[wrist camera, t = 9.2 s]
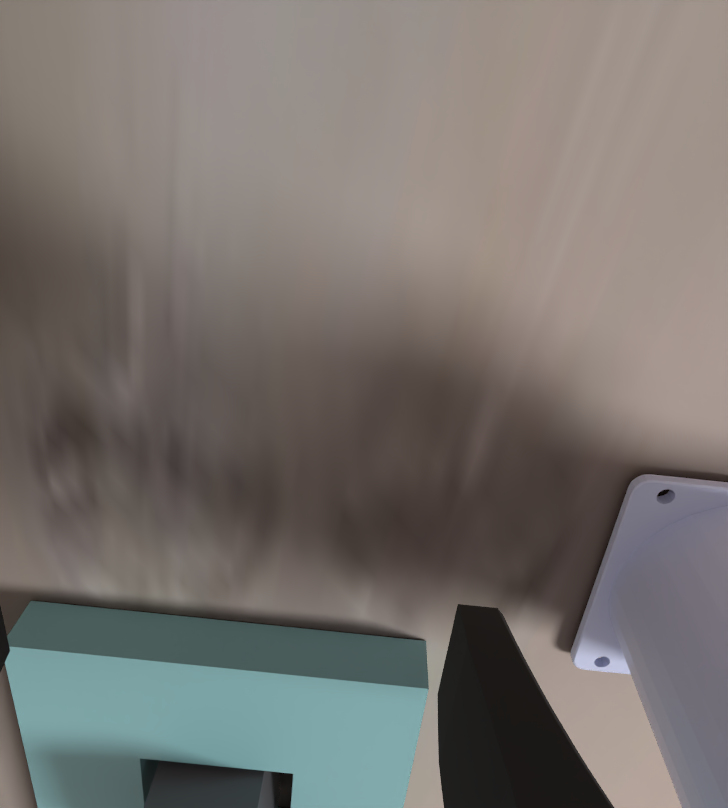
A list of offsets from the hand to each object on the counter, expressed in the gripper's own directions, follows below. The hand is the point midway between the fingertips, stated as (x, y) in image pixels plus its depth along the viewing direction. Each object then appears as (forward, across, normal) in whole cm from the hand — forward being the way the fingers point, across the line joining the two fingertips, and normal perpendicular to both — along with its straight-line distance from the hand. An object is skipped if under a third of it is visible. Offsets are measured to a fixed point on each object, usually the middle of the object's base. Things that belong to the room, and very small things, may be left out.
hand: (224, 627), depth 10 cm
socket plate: (+9, +2, +18) cm, 20 cm away
